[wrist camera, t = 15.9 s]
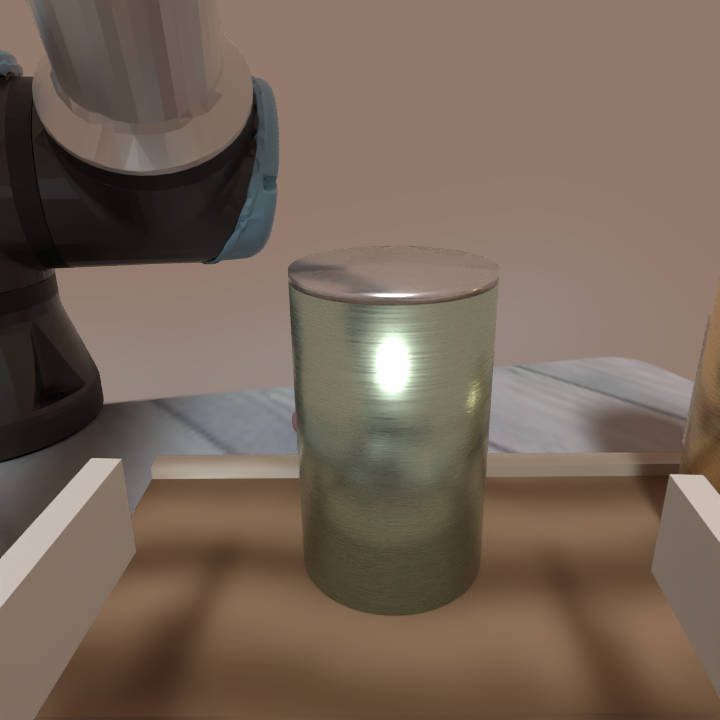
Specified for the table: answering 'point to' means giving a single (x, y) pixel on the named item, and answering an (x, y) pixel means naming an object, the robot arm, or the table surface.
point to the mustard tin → (705, 409)
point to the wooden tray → (391, 633)
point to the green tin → (393, 421)
